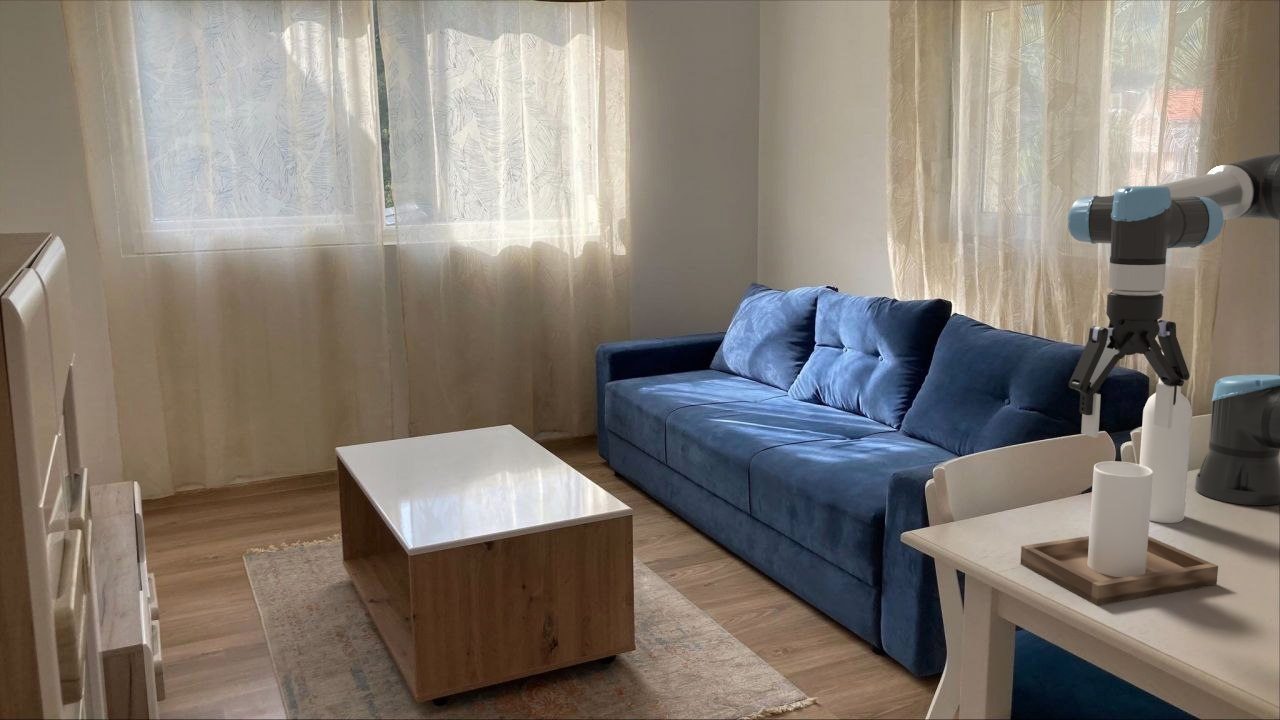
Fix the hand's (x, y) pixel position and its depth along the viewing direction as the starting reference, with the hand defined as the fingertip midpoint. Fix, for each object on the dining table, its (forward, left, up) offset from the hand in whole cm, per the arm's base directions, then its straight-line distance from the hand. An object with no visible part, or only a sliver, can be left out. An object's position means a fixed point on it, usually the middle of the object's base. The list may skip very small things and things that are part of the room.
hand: (1126, 431), depth 155 cm
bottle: (-27, -19, -23) cm, 40 cm away
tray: (0, 0, -23) cm, 23 cm away
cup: (0, 0, -22) cm, 22 cm away
